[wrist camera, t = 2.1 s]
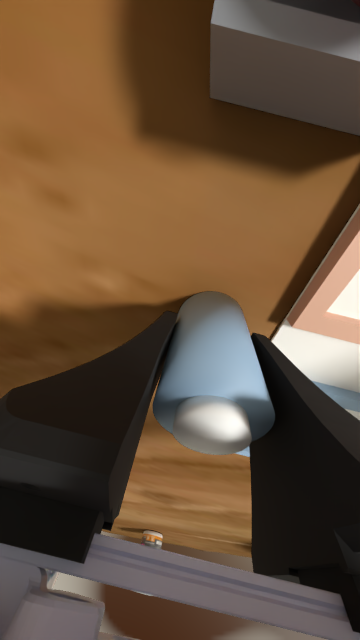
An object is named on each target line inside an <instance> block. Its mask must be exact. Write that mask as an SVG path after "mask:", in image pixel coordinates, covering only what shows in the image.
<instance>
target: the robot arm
mask: <svg viewBox="0 0 360 640" xmlns="http://www.w3.org/2000/svg"><path fill="white" fill-rule="evenodd" d="M177 316H178V313H174V312H170V311H165V312H164V313H163V314H162V315H161V316H160V317H159V318H158V319H157V320H156V321H155V322H154V323H153V324H151V325H150V326H149V327H148V328H146V329H145V330H144V331H143V332H141V333H140V334H138V335H137V336H136V337H134V338H133V339H131V340H130V341H128V342H127V343H125V344H123V345H122V346H120V347H118V348H116V349H115V350H113V351H111V352H109V353H107V354H105V355H103V356H101V357H99V358H97V359H95V360H92V361H90V362H88V363H85V364H83V365H81V366H78V367H76V368H73V369H71V370H68V371H65V372H63V373H60V374H57V375H54V376H51V377H48V378H45V379H42V380H39V381H36V382H33V383H30V384H27V385H24V386H20V387H17V388H14V389H12V390H11V391H9V392H8V393H7V394H6V395H5V396H3V397H2V398H1V399H0V640H140V639H135V638H129V637H124V636H119V635H113V634H108V633H103V632H99V630H100V626H101V622H102V618H103V614H104V610H105V605H104V603H103V602H101V601H97V600H94V599H91V598H88V597H85V596H81V595H78V594H75V593H71V592H66V591H61V590H53V589H48V588H47V572H46V570H45V569H49V570H53V571H57V572H61V573H65V574H69V575H73V576H77V577H81V578H85V579H89V580H93V581H97V582H101V583H105V584H109V585H113V586H117V587H121V588H125V589H129V590H133V591H136V592H140V593H144V594H148V595H152V596H157V597H160V598H164V599H168V600H173V601H177V602H181V603H185V604H189V605H193V606H197V607H200V608H204V609H208V610H212V611H216V612H221V613H225V614H229V615H232V616H236V617H240V618H245V619H248V620H253V621H256V622H260V623H265V624H269V625H272V626H276V627H281V628H285V629H288V630H292V631H296V632H301V633H305V634H308V635H312V636H316V637H321V638H324V639H329V640H360V420H358V419H357V418H356V417H354V416H353V415H352V414H350V413H349V412H348V411H346V410H345V409H344V408H343V407H341V406H340V405H339V404H338V403H337V402H335V401H334V400H333V399H332V398H330V397H329V396H328V395H327V394H326V393H324V392H323V391H322V390H321V389H320V388H319V387H317V386H316V385H315V384H314V383H313V382H312V381H311V380H310V379H309V378H308V377H307V376H306V375H304V374H303V373H302V372H301V371H300V370H299V369H298V368H297V367H296V366H295V365H294V364H293V363H292V362H291V361H290V360H289V359H288V358H287V357H286V356H285V355H284V354H283V353H282V352H281V351H280V350H279V349H278V348H277V347H276V346H275V345H274V344H273V343H272V342H271V341H270V340H269V339H268V338H267V337H266V336H264V335H260V334H256V333H253V334H252V335H251V340H252V343H253V346H254V349H255V352H256V355H257V358H258V362H259V365H260V368H261V371H262V374H263V377H264V380H265V383H266V387H267V390H268V393H269V396H270V399H271V402H272V405H273V408H274V412H275V421H274V424H273V426H272V428H271V429H270V430H269V431H268V432H267V433H266V434H265V435H264V436H262V437H261V438H259V439H257V440H255V441H252V442H251V443H250V445H249V451H250V468H251V495H252V553H251V554H252V562H253V571H254V573H252V572H248V571H244V570H240V569H236V568H233V567H228V566H225V565H221V564H216V563H212V562H209V561H205V560H200V559H197V558H193V557H189V556H184V555H180V554H176V553H173V552H169V551H165V550H161V549H157V548H153V547H149V546H145V545H141V544H137V543H133V542H129V541H125V540H121V539H117V538H113V537H109V536H105V535H101V534H100V533H101V530H102V529H106V530H110V531H111V528H112V525H113V522H114V519H115V518H116V517H117V516H118V515H119V511H120V508H121V504H122V500H123V497H124V493H125V490H126V486H127V483H128V479H129V475H130V472H131V468H132V465H133V461H134V458H135V454H136V450H137V447H138V443H139V440H140V436H141V433H142V429H143V426H144V422H145V419H146V415H147V412H148V408H149V405H150V402H151V399H152V396H153V393H154V390H155V388H156V385H157V383H158V380H159V377H160V375H161V372H162V369H163V366H164V362H165V359H166V355H167V352H168V348H169V344H170V341H171V338H172V335H173V331H174V328H175V324H176V320H177ZM44 568H45V569H44Z"/></svg>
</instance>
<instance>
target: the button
mask: <svg viewBox="0 0 360 640" xmlns="http://www.w3.org/2000/svg"><path fill="white" fill-rule="evenodd" d="M351 1H352V2H354V3H355V4H356V5H358V6H359V7H360V0H351Z"/></svg>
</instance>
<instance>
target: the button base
mask: <svg viewBox="0 0 360 640" xmlns="http://www.w3.org/2000/svg"><path fill="white" fill-rule="evenodd" d="M210 98H214V99H217V100H221V101H225V102H229V103H233V104H237V105H241V106H245V107H249V108H253V109H257V110H260V111H264V112H268V113H272V114H276V115H280V116H284V117H288V118H292V119H296V120H300V121H303V122H307V123H311V124H315V125H319V126H323V127H327V128H331V129H335V130H339V131H343V132H347V133H350V134H354V135H358V136H360V7H359V6H358V5H356V4H355V3H354V2H352V1H351V0H215V1H214V7H213V13H212V18H211V37H210Z"/></svg>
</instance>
